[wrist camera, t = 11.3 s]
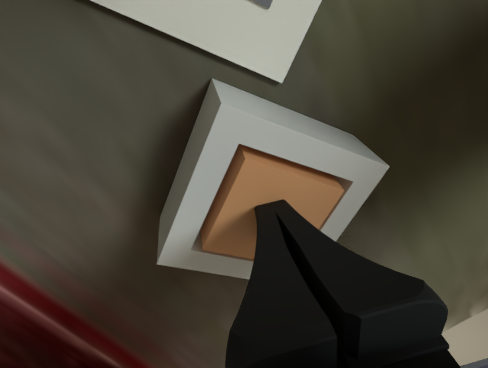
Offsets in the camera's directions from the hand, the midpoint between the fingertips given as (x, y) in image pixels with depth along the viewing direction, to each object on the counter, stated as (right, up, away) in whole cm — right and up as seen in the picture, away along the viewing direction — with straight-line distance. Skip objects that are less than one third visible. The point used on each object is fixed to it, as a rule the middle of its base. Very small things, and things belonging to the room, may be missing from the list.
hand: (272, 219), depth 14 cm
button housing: (-1, +2, +3) cm, 4 cm away
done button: (0, +1, +2) cm, 2 cm away
